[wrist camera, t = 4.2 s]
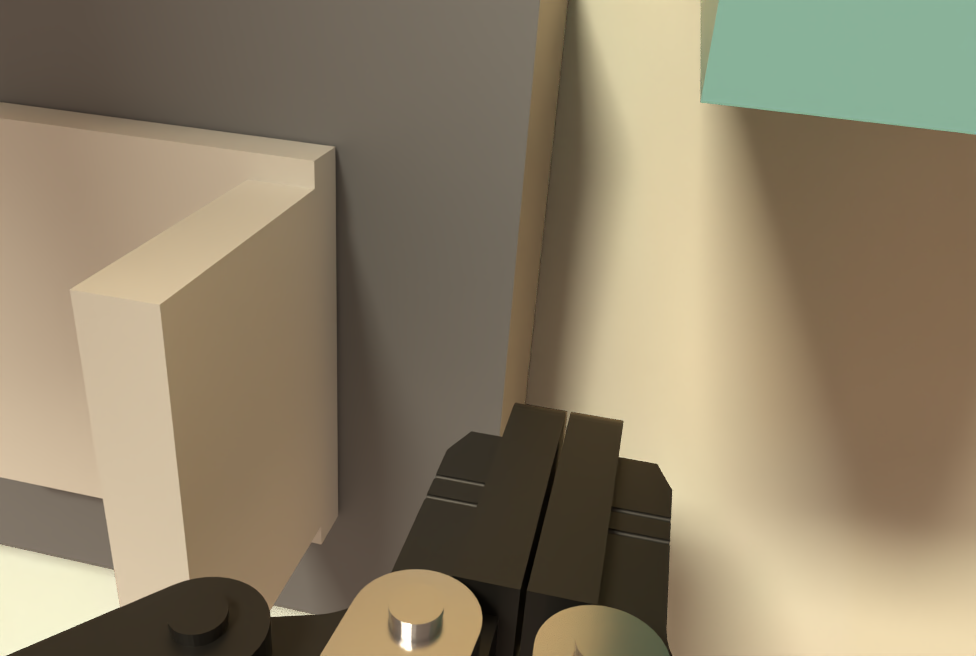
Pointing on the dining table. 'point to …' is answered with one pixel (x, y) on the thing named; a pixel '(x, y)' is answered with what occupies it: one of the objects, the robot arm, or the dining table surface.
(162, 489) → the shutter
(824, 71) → the teal flat-sided block
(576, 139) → the dining table surface
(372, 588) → the robot arm
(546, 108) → the socket block
